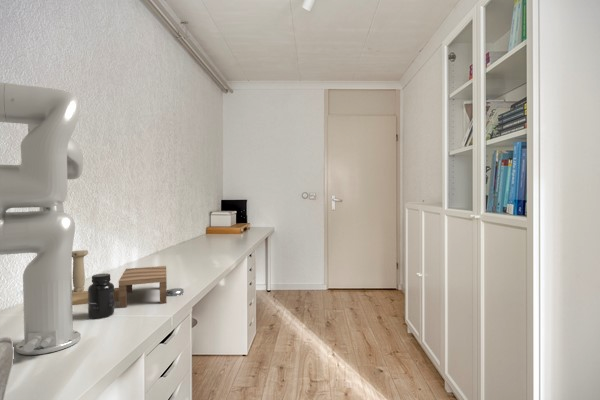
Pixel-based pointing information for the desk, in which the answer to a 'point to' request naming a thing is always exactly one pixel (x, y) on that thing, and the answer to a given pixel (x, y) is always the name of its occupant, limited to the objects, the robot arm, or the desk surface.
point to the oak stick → (83, 297)
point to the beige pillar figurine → (78, 270)
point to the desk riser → (142, 281)
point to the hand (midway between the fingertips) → (52, 249)
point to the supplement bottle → (100, 297)
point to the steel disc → (174, 292)
